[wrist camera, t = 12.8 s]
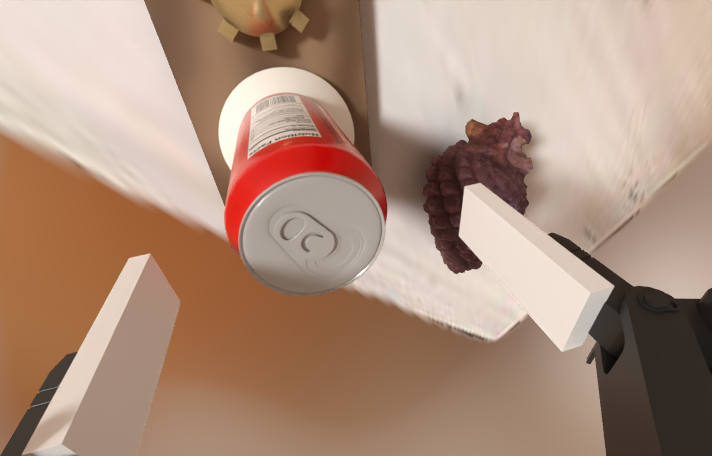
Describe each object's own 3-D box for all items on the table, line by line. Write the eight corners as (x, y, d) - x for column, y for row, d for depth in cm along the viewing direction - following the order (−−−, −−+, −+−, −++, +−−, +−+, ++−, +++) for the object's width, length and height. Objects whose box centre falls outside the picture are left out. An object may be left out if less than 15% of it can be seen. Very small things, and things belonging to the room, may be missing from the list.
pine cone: (466, 243, 41) (517, 297, 33) (395, 251, 39) (431, 311, 31) (509, 100, 32) (595, 126, 24) (419, 98, 29) (480, 128, 21)
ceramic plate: (344, 56, 24) (346, 57, 24) (357, 183, 31) (359, 187, 30) (197, 77, 23) (195, 79, 22) (243, 207, 29) (243, 211, 28)
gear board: (343, -124, 20) (348, -133, 19) (368, 183, 33) (373, 189, 31) (107, -111, 18) (96, -121, 17) (231, 212, 31) (230, 220, 29)
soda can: (281, 65, 23) (307, 112, 11) (353, 136, 27) (431, 227, 15) (217, 145, 25) (179, 262, 13) (295, 200, 29) (322, 327, 17)
